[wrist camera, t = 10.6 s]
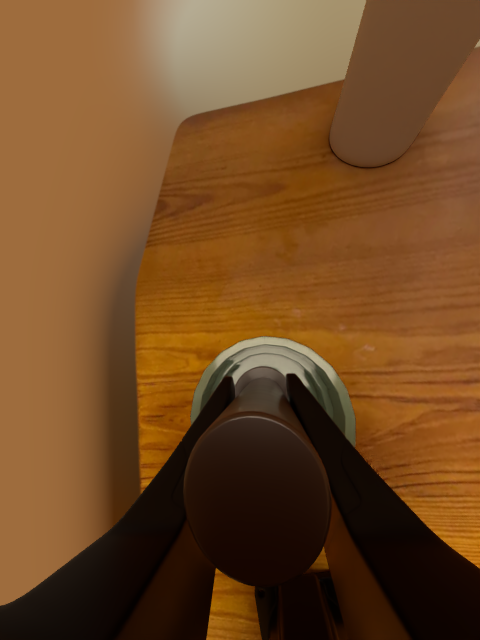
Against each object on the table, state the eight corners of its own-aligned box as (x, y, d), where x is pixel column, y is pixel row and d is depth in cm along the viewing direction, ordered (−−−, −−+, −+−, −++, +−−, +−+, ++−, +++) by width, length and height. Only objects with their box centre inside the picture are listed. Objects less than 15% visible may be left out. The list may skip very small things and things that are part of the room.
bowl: (345, 458, 15) (382, 501, 11) (221, 477, 16) (202, 525, 11) (310, 333, 18) (326, 322, 13) (204, 355, 19) (182, 353, 14)
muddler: (295, 414, 15) (425, 642, 3) (244, 423, 15) (154, 662, 3) (282, 361, 16) (335, 354, 4) (234, 371, 16) (137, 393, 4)
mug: (375, 181, 20) (494, -16, 10) (312, 144, 23) (353, -53, 12) (450, 109, 21) (636, -148, 10) (382, 79, 23) (480, -160, 13)
